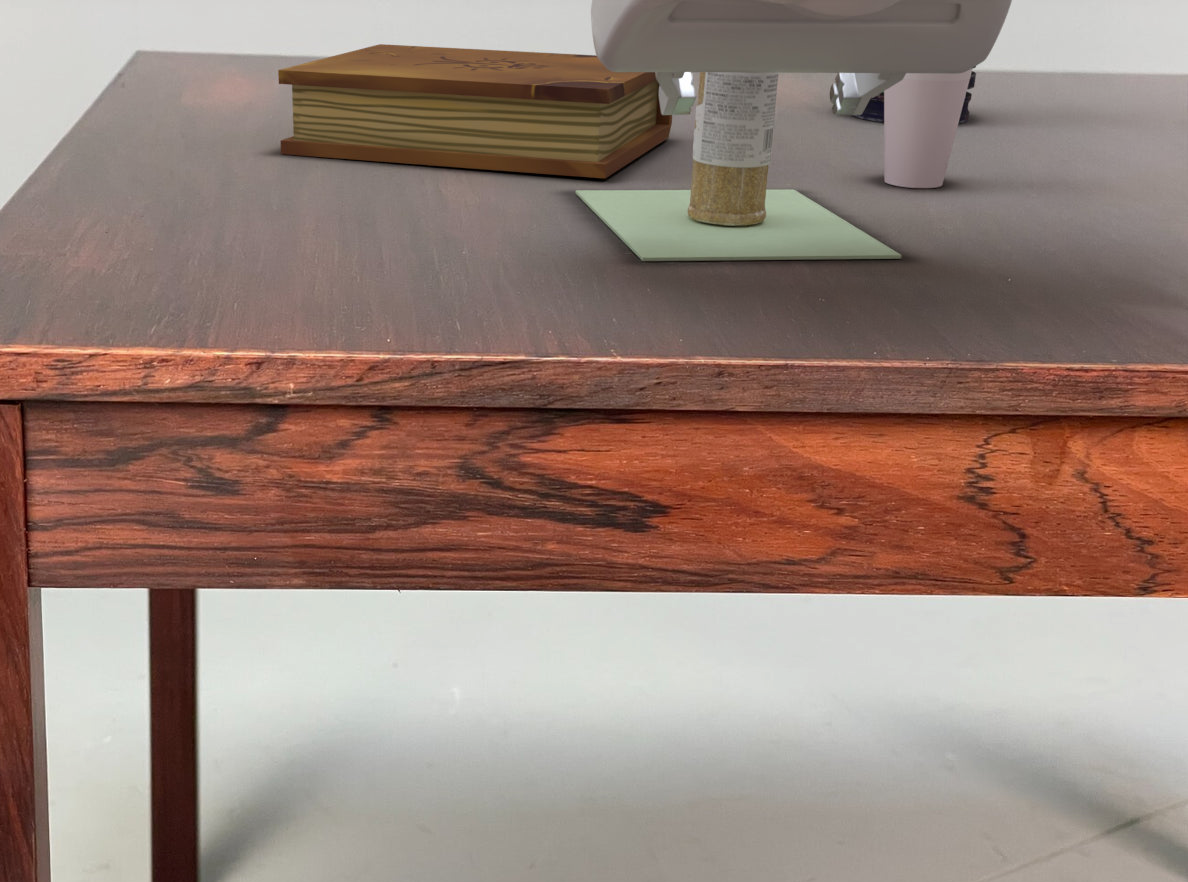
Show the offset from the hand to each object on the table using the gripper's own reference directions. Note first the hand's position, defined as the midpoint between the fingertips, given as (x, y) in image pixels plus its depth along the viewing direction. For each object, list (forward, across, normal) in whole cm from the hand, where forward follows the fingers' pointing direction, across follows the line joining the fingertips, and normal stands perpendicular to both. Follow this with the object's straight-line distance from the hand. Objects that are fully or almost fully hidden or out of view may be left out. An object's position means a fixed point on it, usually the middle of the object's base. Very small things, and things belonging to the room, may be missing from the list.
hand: (759, 105), depth 87 cm
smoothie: (+17, -16, -6) cm, 24 cm away
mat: (+8, 0, +2) cm, 8 cm away
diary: (+27, +10, -16) cm, 33 cm away
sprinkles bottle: (+8, 0, +2) cm, 8 cm away
